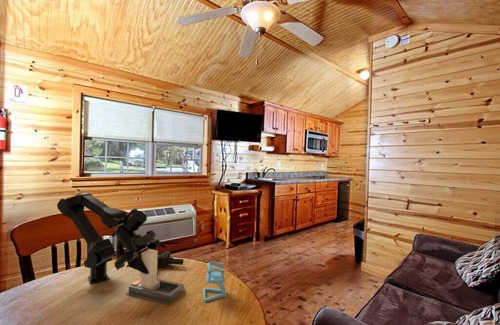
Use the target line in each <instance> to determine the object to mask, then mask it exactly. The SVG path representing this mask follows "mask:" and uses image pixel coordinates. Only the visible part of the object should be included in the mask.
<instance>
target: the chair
mask: <svg viewBox="0 0 500 325" xmlns="http://www.w3.org/2000/svg"><path fill="white" fill-rule="evenodd" d="M214 265H218V266H214ZM206 266H207V272H206V273H205V275H206V276H205V277H206V284H216V285H218V287H219V288H214V287H213V288H211V287H204V288H203V302H204V303H206V302H207V303H208V302H210V301H213V300H214V301H215V300H217V299H220V298H225V297H227V292H226V286H225V285H224V283H226V279H225V278H226V277H225V271H226V269H223V267H224V263H223V262H219V261H216V260H214V261H210V262H208V263H207V264H206ZM219 266H220V267H219ZM206 292H211V293H219V294H216V295H213V296H209V297H207V296H206Z"/></svg>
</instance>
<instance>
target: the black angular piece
mask: <svg viewBox="0 0 500 325" xmlns="http://www.w3.org/2000/svg"><path fill="white" fill-rule="evenodd" d="M171 255H172V252H171V251H170V250H167V251H165V252H163V253H161V254H157V267H158V266H159V267H169V266H171V265H181V266H183V264H184V259H183V258H182V259H181V258H174V257H171Z"/></svg>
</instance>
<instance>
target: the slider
mask: <svg viewBox="0 0 500 325" xmlns="http://www.w3.org/2000/svg"><path fill="white" fill-rule="evenodd" d="M157 255H158V250H156V249H155V250H150V249H149V250H147V251H145V252H143V253H141V260H142V262H143V263H144V265H145V266H146V268H147V269H148V272H149V273H148V274H147V275H146V274H144V273H142V272H140V278H141V283H140V284H139V285H137V286H138V287H143V288H147V289H151V290H156V289H158V288H159V287H160V281H157V279H158V265H157Z"/></svg>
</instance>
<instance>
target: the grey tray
mask: <svg viewBox="0 0 500 325" xmlns="http://www.w3.org/2000/svg"><path fill="white" fill-rule="evenodd" d="M157 281H160V287H159V288H158V289H156V290H151V289H147V288H143V287H138V286H137V285H139V284H140V283H141V277H140V278H138V279H137V280H135V281H133V282H132V283H131V284H130V285H129V286H128V291H127V292H126V295H128V296H132V297H136V298H140V299H143V300H147V301H151V302H155V303H159V304H164V305H166V306H167V305H168V306H169V305H170V304H172V302H174V301H175V300H176V299H177V298H178V297H179V296H180V295H181V294H182V293H183V292H185V290H186V288H185V284H184V283H178V282H175V281H170V280H166V279H162V278H157Z"/></svg>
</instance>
